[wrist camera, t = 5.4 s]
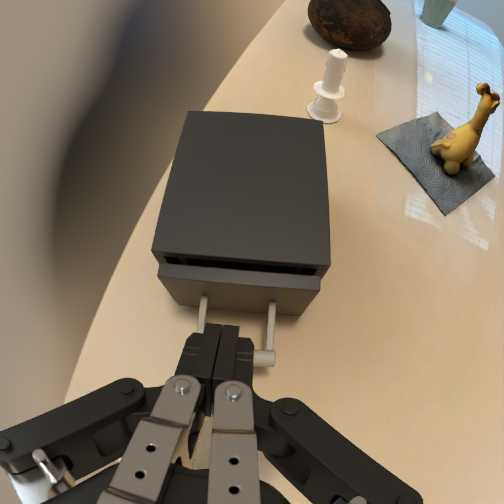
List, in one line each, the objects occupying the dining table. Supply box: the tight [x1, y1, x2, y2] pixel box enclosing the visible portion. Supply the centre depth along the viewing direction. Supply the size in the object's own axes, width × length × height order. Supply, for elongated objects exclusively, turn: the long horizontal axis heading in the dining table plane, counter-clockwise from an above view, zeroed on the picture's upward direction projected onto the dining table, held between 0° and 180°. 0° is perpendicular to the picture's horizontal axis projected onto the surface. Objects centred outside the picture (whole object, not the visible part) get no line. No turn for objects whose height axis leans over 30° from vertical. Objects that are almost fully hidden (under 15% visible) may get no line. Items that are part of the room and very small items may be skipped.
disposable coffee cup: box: [421, 0, 458, 28], centre depth 62 cm, size 11×11×15 cm
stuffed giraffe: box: [376, 83, 500, 216], centre depth 37 cm, size 16×18×16 cm
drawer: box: [157, 257, 320, 367], centre depth 30 cm, size 20×13×9 cm, turn 175°
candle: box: [307, 49, 348, 123], centre depth 40 cm, size 5×5×12 cm
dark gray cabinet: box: [151, 111, 331, 281], centre depth 32 cm, size 16×14×11 cm
